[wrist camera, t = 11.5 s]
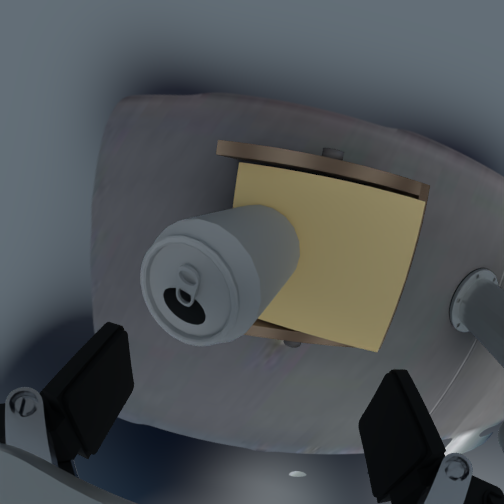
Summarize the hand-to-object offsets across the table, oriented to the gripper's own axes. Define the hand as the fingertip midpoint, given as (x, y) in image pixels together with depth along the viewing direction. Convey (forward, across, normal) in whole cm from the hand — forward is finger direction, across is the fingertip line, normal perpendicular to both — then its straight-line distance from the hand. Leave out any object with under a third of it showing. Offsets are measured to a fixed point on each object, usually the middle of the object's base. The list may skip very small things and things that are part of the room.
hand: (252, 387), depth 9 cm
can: (+17, +1, 0) cm, 17 cm away
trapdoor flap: (+16, -4, 0) cm, 17 cm away
